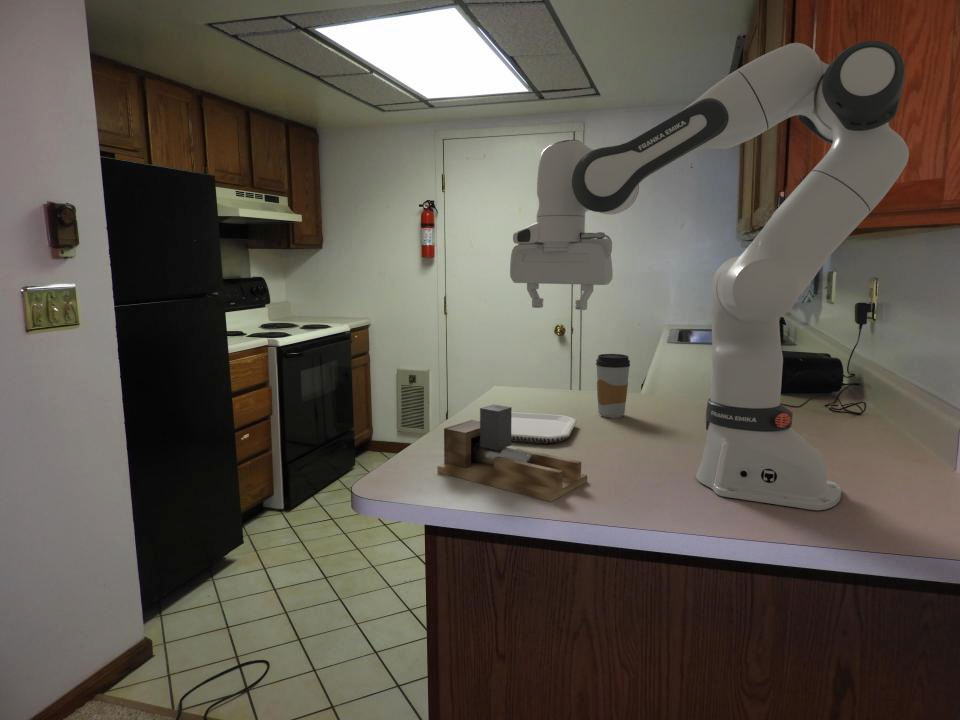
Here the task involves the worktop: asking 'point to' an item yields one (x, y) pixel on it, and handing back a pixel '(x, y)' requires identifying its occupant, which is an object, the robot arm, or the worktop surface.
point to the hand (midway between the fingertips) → (558, 308)
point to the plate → (540, 427)
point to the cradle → (509, 467)
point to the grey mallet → (496, 437)
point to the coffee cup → (612, 384)
